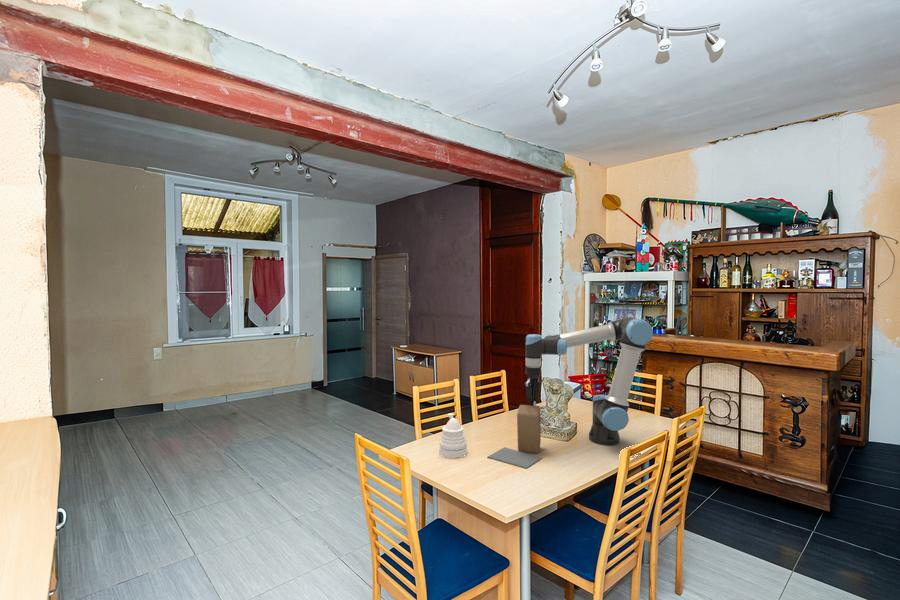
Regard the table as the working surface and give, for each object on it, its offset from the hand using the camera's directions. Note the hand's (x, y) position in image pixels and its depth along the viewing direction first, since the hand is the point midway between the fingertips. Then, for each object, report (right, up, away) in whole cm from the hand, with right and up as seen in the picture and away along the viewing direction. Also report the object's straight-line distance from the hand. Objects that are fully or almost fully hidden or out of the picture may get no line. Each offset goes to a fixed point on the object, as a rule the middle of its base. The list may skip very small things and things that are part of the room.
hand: (532, 414), depth 217 cm
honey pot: (-39, -17, -7) cm, 43 cm away
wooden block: (-2, -15, -2) cm, 16 cm away
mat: (-11, -17, -13) cm, 24 cm away
